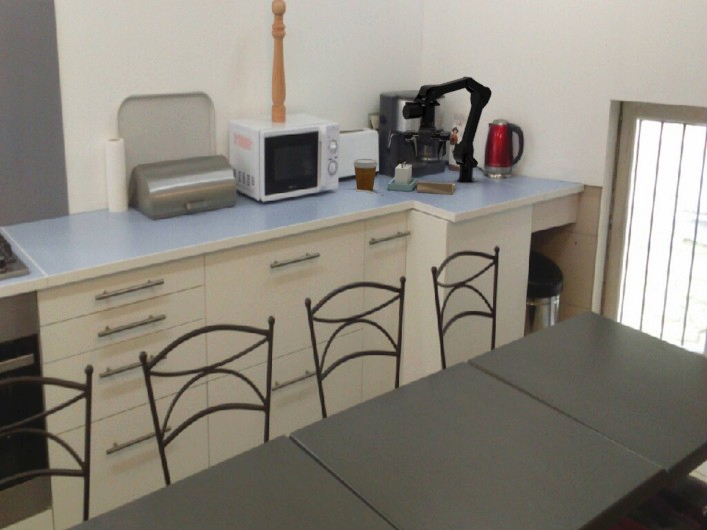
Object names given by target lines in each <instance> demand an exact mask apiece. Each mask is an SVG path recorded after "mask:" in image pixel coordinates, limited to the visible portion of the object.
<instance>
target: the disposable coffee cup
mask: <svg viewBox="0 0 707 530" xmlns="http://www.w3.org/2000/svg"><path fill="white" fill-rule="evenodd" d="M352 165H353V167H354V173H355V174H354V176H355V184H356V190H357V191H367V192H370V193H373V192H374V185H375V178H376V173H377V167H378V165H379V164H378V163H377V160H376V159H373V158H358V159H355V160H354V162H353V164H352Z"/></svg>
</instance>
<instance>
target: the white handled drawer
mask: <svg viewBox="0 0 707 530" xmlns="http://www.w3.org/2000/svg"><path fill="white" fill-rule="evenodd" d="M412 168H413V164H407V161H404V162H402V163H399V164H398V165H397V166H396V167H394V177H395V184H405V185H410V184H411V178H412V171H413V170H412Z"/></svg>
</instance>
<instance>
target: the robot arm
mask: <svg viewBox="0 0 707 530" xmlns="http://www.w3.org/2000/svg"><path fill="white" fill-rule="evenodd" d="M464 89H465V90H466V91H467V93H469V94H470V96H469V100H470V109H469V112H468V116H467V120H466V123H465V127H464V131H463V133H462V136H461V137H462V138H461V140H459V143H457V142H456V143H454V149H453V151H452V152H451V153H453V154H452V157H453V159H454V160H455V165H458V166H459V171H458V178H457V180H456V181H457V182H463V183H464V182H466V183H473V182H474V180H475V178H474V168H477V167H478V165H479V162H478V161H477V159H476V158H475V157H474V154H475V149H474V140H475V138H476V134H477V130H478V127H479V123H480V120H481V116H482V113H483V110H484V108H485V107H486V106H487V105H488V104H489V101H490V99H491V97H492V92H493V91H491V88H490V87H489V86H485V85H484V84H482V83H480V82H478V81H476V79H474V78H473V77H471V76H463V77H461V78H457V79H453V80H450V81H446V82H443V83H439V84H423V85H421V86H420V88H419V90H418V93H417V95H416V96H415V98H414V99H413V101H405V102H404V106H403V107H402V109H401V113H402V117H403V119H404V120H416V119H420V125H419V127H418V128H419V129H418V131H417V132H416V130H415V129H414V130H413V129H406V130H405V131H404V132H403V139H404V140H406V141H407V142H409V143H410V146H411V147H412V151H413V154H414V157H417V155H418V154H417V153H418V150H417V149H418V148H417V138H418V140H425V139H426V140H431V139H440V140H438V147H437V148H438V149H437V158H439V157H440V155H441V151H442V149H443V146H444V145H445V143H447V142H448V141H450V140H451V139H452V132H451V131H447V130H445V131H444V130H442V131H441V132H440V133H439V132H437V126H436V107H440V106H441V103H440V102H439V101H438V99H440V98H441V97H443V96H444V95H447V94H450V93H453V92H457V91H459V90H464Z"/></svg>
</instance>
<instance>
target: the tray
mask: <svg viewBox="0 0 707 530" xmlns="http://www.w3.org/2000/svg"><path fill="white" fill-rule="evenodd" d="M418 180H419V179H418V177H411V184H410V185H405V184H395V176H394V177H393V178H392V179H391V180H390V181H389V182H388V183H387V191H396V192H397V191H399V192H413V190H414V189H415V188H416V187H417V184H418V182H419V181H418Z"/></svg>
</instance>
